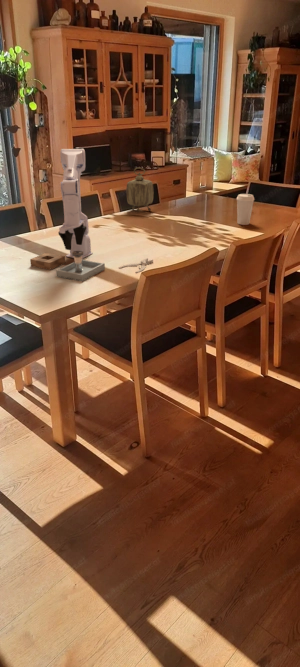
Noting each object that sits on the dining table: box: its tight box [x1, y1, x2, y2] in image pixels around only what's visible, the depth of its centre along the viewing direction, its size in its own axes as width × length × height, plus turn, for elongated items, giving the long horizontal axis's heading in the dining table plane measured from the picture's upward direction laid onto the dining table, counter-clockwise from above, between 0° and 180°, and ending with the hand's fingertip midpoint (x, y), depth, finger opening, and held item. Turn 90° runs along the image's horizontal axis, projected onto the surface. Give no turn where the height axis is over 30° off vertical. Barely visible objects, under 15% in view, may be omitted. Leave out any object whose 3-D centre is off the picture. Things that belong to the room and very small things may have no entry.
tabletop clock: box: [125, 166, 155, 213], centre depth 293 cm, size 14×9×25 cm, turn 66°
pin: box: [72, 251, 83, 273], centre depth 197 cm, size 4×4×8 cm
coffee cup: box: [236, 193, 255, 226], centre depth 269 cm, size 10×10×15 cm
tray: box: [55, 259, 106, 282], centre depth 198 cm, size 16×12×2 cm
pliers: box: [118, 257, 154, 274], centre depth 206 cm, size 10×2×15 cm
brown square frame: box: [30, 252, 66, 271], centre depth 207 cm, size 10×10×3 cm
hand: (73, 247), depth 196 cm, fingers open, 7 cm apart
